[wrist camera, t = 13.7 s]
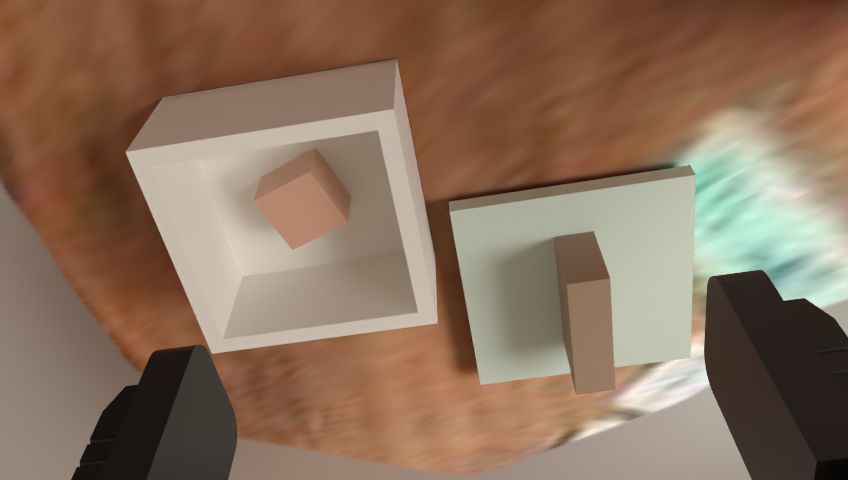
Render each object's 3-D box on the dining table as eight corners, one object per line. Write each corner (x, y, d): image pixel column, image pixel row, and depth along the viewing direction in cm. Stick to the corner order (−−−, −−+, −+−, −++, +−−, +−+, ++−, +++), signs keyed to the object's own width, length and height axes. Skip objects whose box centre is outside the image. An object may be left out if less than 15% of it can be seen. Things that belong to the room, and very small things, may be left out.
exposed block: (315, 147, 46) (309, 171, 44) (351, 197, 48) (347, 222, 46) (261, 176, 47) (253, 201, 45) (298, 223, 49) (292, 250, 47)
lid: (685, 157, 48) (723, 219, 42) (681, 337, 56) (712, 409, 50) (448, 193, 49) (452, 258, 43) (478, 363, 58) (485, 437, 52)
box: (396, 58, 44) (393, 109, 38) (435, 256, 52) (437, 323, 46) (163, 97, 45) (125, 152, 39) (234, 284, 53) (211, 353, 47)
